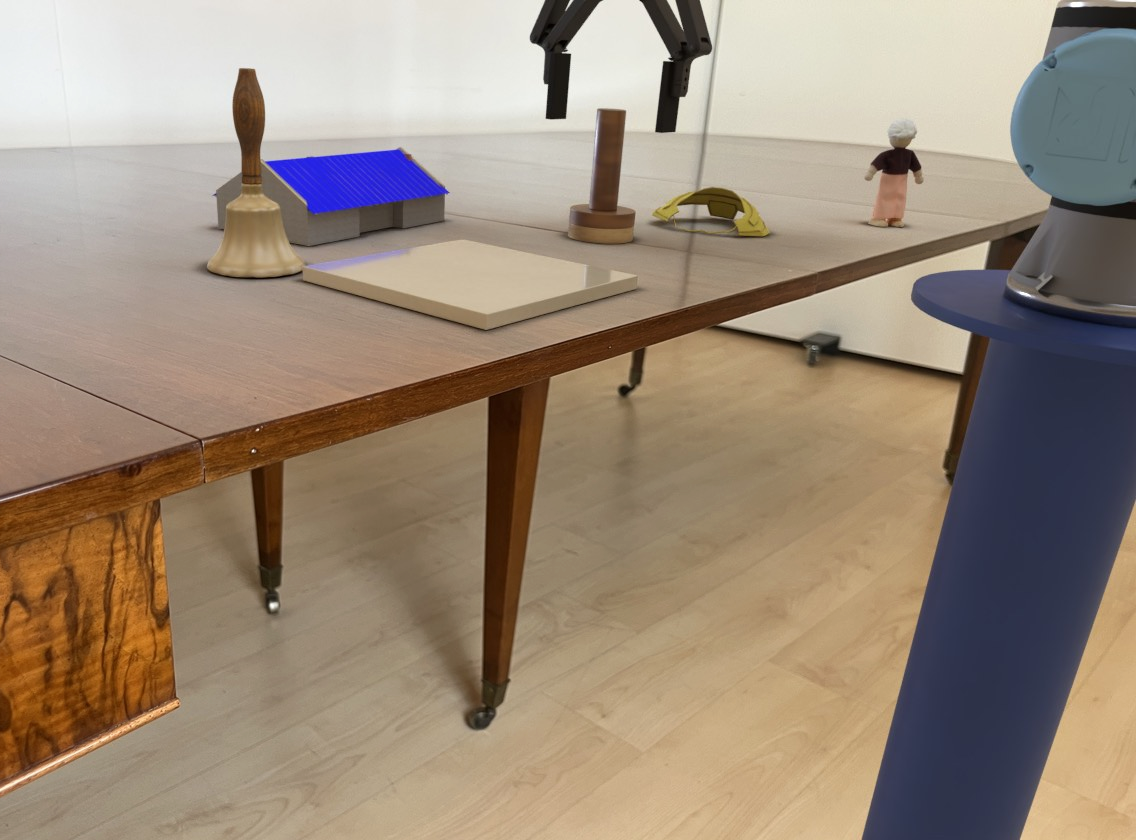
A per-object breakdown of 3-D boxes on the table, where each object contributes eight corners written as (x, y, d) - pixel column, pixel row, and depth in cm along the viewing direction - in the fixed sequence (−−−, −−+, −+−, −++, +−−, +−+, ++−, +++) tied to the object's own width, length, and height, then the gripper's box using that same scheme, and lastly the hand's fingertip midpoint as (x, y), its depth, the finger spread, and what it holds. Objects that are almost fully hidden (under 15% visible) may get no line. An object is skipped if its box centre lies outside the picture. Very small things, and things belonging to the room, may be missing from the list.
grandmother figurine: (896, 221, 128) (918, 117, 123) (917, 227, 124) (940, 119, 119) (847, 222, 125) (867, 115, 120) (868, 228, 122) (889, 118, 117)
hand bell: (196, 261, 87) (181, 64, 81) (287, 255, 91) (280, 67, 85) (221, 281, 81) (208, 69, 74) (319, 275, 85) (314, 72, 78)
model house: (355, 205, 119) (355, 141, 116) (449, 221, 112) (451, 153, 109) (213, 227, 102) (208, 152, 99) (313, 247, 95) (311, 167, 92)
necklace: (789, 235, 114) (795, 198, 112) (698, 239, 109) (703, 200, 107) (723, 217, 124) (728, 182, 123) (637, 219, 120) (641, 183, 118)
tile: (636, 289, 85) (637, 275, 85) (486, 330, 71) (486, 314, 71) (462, 251, 97) (462, 239, 96) (302, 280, 82) (302, 266, 82)
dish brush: (645, 238, 108) (658, 111, 103) (609, 246, 103) (621, 113, 98) (592, 229, 112) (602, 106, 107) (555, 236, 107) (564, 107, 102)
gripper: (504, -113, 98) (493, 114, 107) (731, -123, 84) (696, 139, 93) (550, -103, 104) (535, 113, 113) (770, -111, 90) (734, 136, 98)
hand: (608, 125), depth 103 cm, fingers open, 13 cm apart
